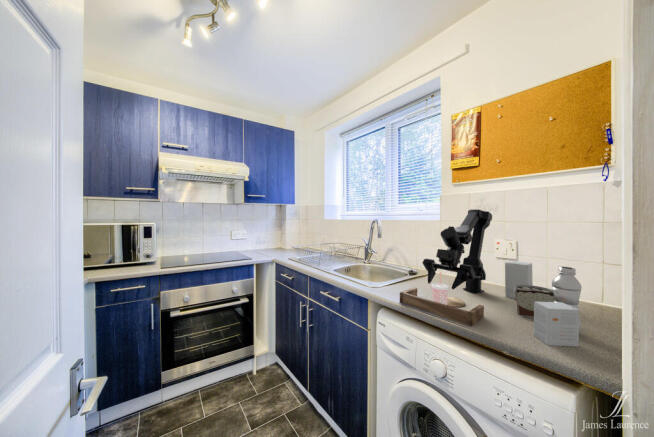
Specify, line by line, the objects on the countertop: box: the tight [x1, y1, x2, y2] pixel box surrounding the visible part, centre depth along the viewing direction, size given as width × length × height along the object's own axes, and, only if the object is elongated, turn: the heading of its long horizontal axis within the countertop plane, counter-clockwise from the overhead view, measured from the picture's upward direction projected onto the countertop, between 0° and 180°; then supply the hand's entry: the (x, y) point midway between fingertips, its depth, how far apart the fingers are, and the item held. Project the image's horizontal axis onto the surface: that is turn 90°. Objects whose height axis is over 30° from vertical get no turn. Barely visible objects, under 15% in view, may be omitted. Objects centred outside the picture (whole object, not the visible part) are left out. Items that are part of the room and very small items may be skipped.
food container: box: [513, 284, 554, 318], centre depth 88 cm, size 12×6×10 cm, turn 71°
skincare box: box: [504, 260, 534, 300], centre depth 104 cm, size 8×7×16 cm
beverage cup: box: [430, 271, 450, 305], centre depth 92 cm, size 6×6×14 cm
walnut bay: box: [399, 286, 485, 327], centre depth 92 cm, size 11×27×4 cm, turn 39°
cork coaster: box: [447, 296, 466, 308], centre depth 99 cm, size 10×10×1 cm
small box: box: [533, 302, 580, 348], centre depth 69 cm, size 8×6×10 cm
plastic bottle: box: [551, 266, 583, 333], centre depth 74 cm, size 6×7×20 cm
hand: (440, 285), depth 92 cm, fingers open, 9 cm apart
